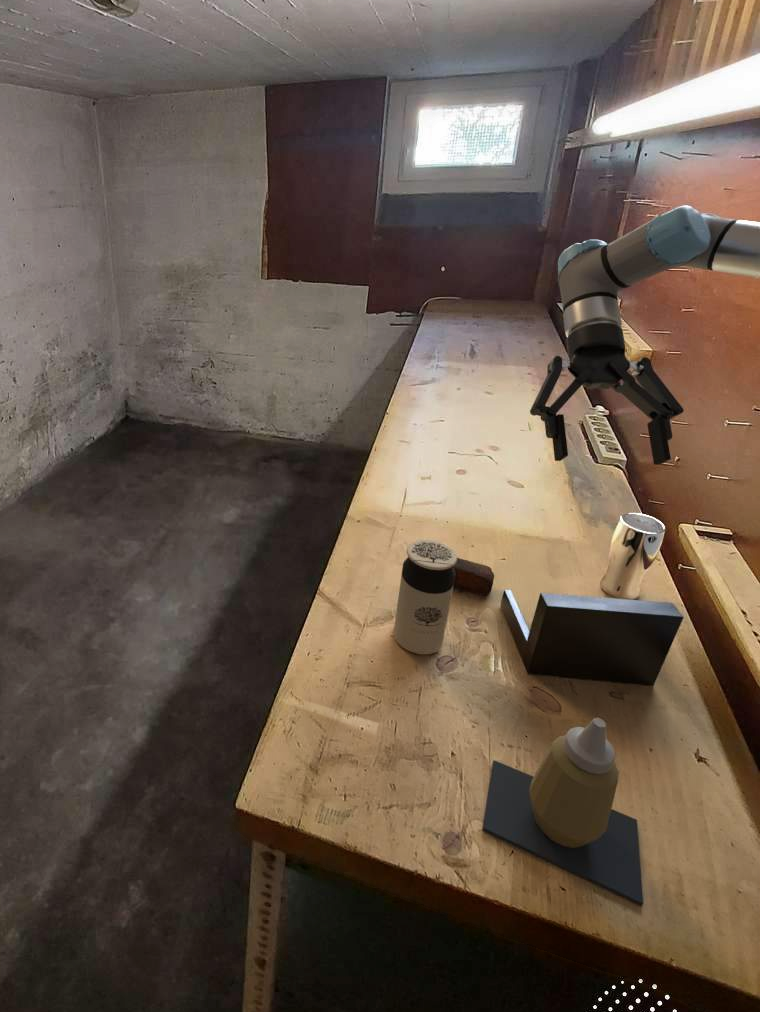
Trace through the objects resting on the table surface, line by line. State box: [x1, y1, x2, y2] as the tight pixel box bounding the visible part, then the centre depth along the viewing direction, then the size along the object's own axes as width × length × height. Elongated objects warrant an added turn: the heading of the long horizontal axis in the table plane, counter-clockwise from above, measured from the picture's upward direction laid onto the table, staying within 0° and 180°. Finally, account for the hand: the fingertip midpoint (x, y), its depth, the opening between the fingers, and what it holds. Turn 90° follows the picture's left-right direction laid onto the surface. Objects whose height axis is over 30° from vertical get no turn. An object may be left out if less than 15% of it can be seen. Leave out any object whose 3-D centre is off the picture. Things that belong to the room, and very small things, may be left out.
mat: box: [481, 759, 644, 907], centre depth 68 cm, size 16×10×1 cm, turn 60°
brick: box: [453, 557, 495, 597], centre depth 107 cm, size 11×4×5 cm, turn 61°
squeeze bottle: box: [529, 717, 620, 848], centre depth 64 cm, size 8×8×18 cm
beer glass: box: [599, 512, 667, 600], centre depth 102 cm, size 7×7×15 cm
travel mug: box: [393, 539, 458, 655], centre depth 92 cm, size 8×8×18 cm
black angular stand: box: [499, 589, 684, 687], centre depth 91 cm, size 16×18×14 cm
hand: (611, 460), depth 82 cm, fingers open, 13 cm apart
